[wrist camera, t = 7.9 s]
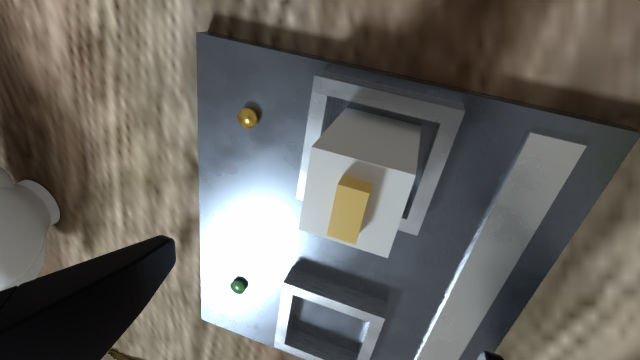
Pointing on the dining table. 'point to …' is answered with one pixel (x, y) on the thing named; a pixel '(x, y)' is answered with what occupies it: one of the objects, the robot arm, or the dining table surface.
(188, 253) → the dining table surface
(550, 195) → the panel
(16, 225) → the teapot
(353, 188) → the plug
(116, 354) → the toy
